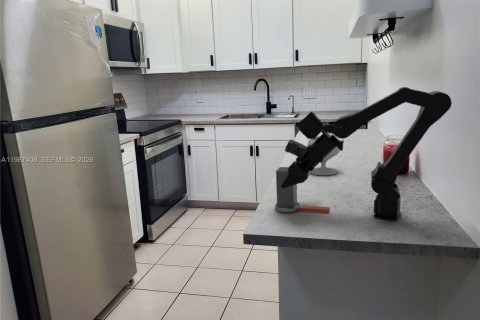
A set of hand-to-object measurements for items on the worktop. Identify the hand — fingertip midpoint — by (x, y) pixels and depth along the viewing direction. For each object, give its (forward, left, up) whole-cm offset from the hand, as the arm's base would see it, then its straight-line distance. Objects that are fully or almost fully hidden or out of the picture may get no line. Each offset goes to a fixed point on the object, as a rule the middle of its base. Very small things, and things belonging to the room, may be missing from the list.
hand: (285, 183), depth 117 cm
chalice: (+7, -46, -9) cm, 48 cm away
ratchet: (-5, -2, -9) cm, 10 cm away
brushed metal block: (-1, 0, -7) cm, 7 cm away
